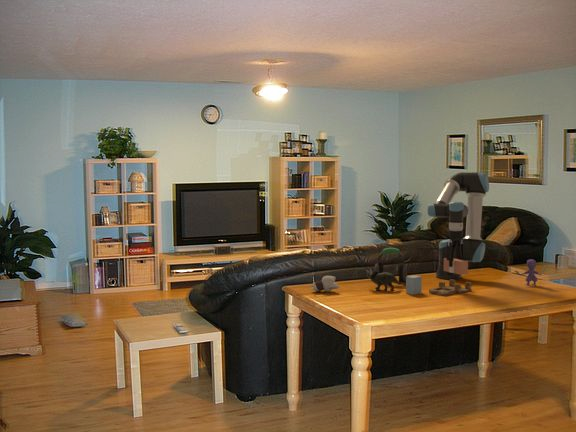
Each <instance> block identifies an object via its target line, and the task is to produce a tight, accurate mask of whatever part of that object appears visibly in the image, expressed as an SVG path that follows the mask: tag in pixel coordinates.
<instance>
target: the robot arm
mask: <svg viewBox="0 0 576 432" xmlns="http://www.w3.org/2000/svg"><path fill="white" fill-rule="evenodd" d="M489 191H490V181H489V177H488V175H487V173H485V172H475V171H474V172H457V173H455V174H453V175H451V176H450V177H449V178H447V179H446V181H445V182H444V185H443V189H442V191H441V192H440V194H439V196H438V198H437V200H436V201H435V203H429V204H428V206H427V215H428V216H429V217H432V218H448V237H449V238H450V239H443V240H441V241H439V246H438V267H437V269H436V271H435V278H438V279H443V280H450V279H452V280H458V279H461V278H462V275H460V274H456V273H454V261H453V259H460V260H465V261H468V263H470V262H471V263H481V261H482V260H483V259H484V256H485V253H486V243H484V242H483V241H484V240H483V239H482V237H481V231H482V230H481V229H482V218H483V217H482V214H483V201H484V197H485V196H486V195H487V194H486V193H488V192H489ZM459 192H465V195H466V197H467V204H464V202H462V201H452V200H453V198H454V197H455V195H456V194H458V193H459ZM464 218H466V225H465V236H464ZM444 258H446V259H447V260H448V261H449V272H447V271H443V270H444ZM451 258H452V259H451Z"/></svg>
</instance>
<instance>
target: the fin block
mask: <svg viewBox="0 0 576 432" xmlns="http://www.w3.org/2000/svg"><path fill="white" fill-rule="evenodd" d="M422 279H423V278H422V276H420V275H415V274H414V275H407V277H406V281H405V293H406V294H408V295H417V294H422V290H423V289H422V287H423V286H422V282H423V281H422Z"/></svg>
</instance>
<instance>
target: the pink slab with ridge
mask: <svg viewBox="0 0 576 432" xmlns="http://www.w3.org/2000/svg"><path fill="white" fill-rule="evenodd" d="M451 259H452V258H451ZM453 261H454V273H456V274H460V275H461V276H462V275H467V274H468V275H469V271H468V270H469V262H468V261H465V260H460V259H453ZM443 271H447V272H449V261H448V260H447V259H446V258H444V270H443Z"/></svg>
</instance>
